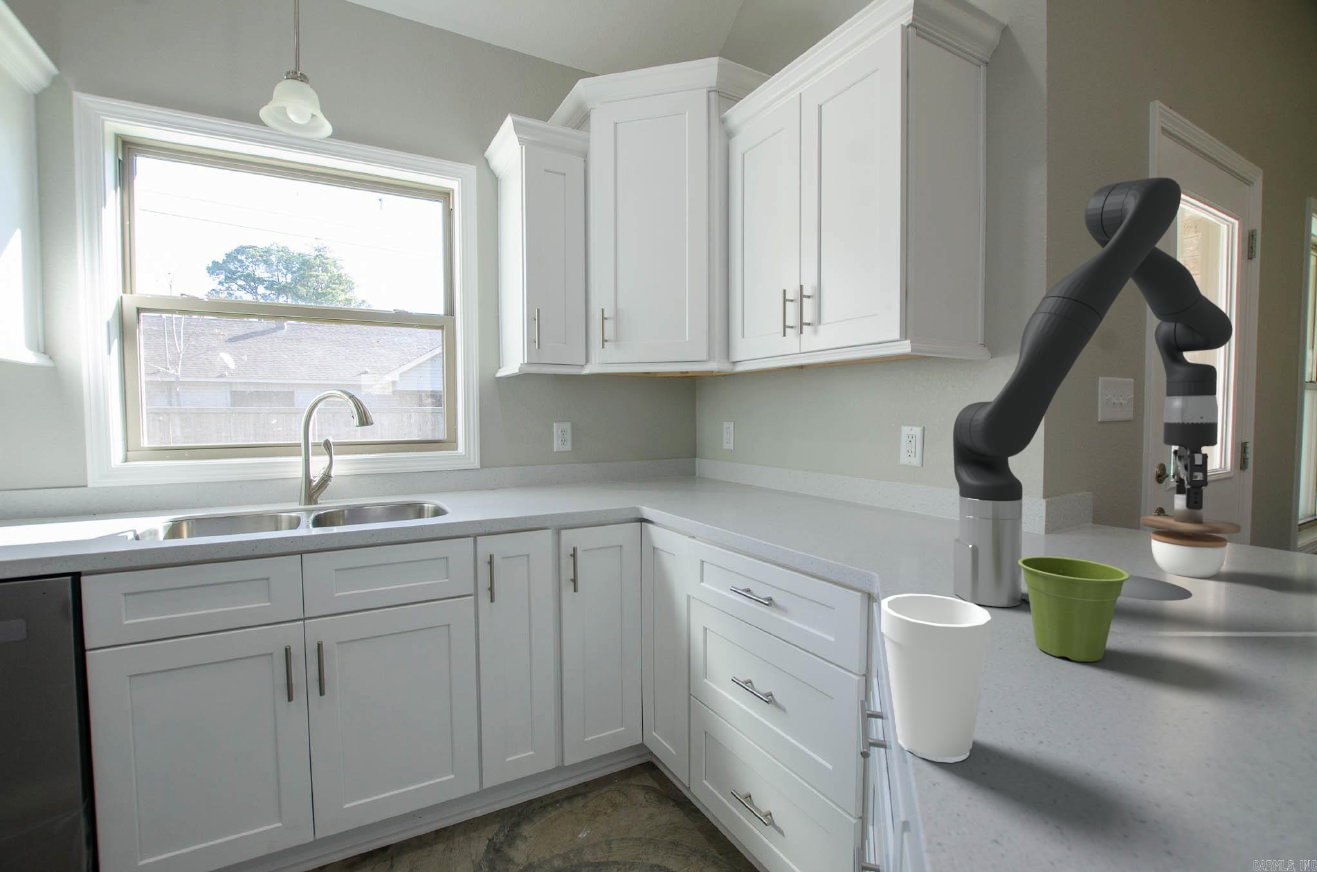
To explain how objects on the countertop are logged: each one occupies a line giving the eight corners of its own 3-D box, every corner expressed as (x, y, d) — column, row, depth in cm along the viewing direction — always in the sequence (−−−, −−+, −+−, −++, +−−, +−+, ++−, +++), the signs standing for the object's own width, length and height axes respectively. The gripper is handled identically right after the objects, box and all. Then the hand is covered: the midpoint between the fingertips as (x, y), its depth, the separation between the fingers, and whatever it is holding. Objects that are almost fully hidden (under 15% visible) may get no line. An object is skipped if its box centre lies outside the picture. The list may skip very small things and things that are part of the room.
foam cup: (864, 720, 60) (864, 595, 59) (950, 715, 61) (951, 592, 60) (912, 777, 50) (912, 629, 50) (1013, 770, 51) (1014, 624, 51)
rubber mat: (1113, 603, 95) (1113, 600, 95) (1047, 575, 112) (1047, 572, 112) (1220, 603, 95) (1221, 600, 95) (1138, 575, 112) (1138, 572, 112)
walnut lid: (1181, 533, 104) (1182, 500, 103) (1122, 521, 118) (1122, 491, 117) (1263, 533, 103) (1264, 500, 103) (1194, 521, 117) (1194, 491, 117)
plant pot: (1096, 679, 69) (1097, 584, 68) (997, 644, 79) (998, 562, 79) (1147, 659, 74) (1148, 571, 74) (1048, 629, 84) (1049, 552, 84)
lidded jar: (1242, 585, 104) (1243, 533, 104) (1173, 582, 107) (1174, 531, 106) (1199, 570, 115) (1200, 522, 115) (1137, 567, 117) (1138, 521, 117)
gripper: (1228, 420, 102) (1226, 513, 102) (1207, 419, 114) (1205, 502, 114) (1171, 421, 106) (1170, 510, 106) (1157, 420, 118) (1155, 500, 118)
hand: (1188, 506), depth 110 cm, fingers open, 8 cm apart
